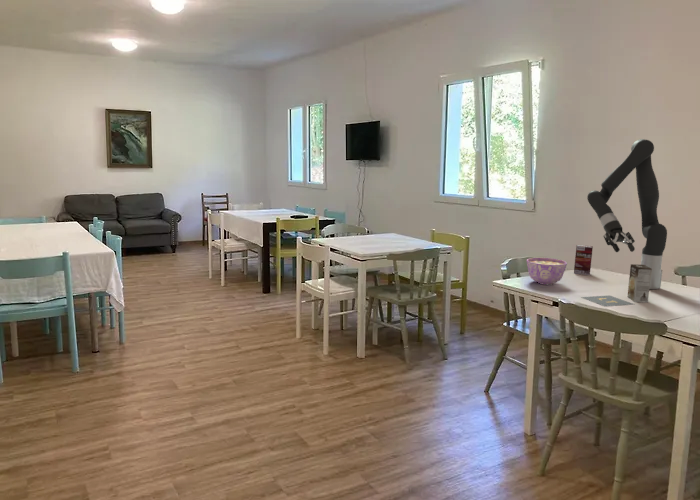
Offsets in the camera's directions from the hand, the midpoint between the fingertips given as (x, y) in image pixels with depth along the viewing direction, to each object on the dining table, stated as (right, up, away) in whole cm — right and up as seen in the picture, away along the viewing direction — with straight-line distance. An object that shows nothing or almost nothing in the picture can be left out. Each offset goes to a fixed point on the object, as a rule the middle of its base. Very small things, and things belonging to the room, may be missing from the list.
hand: (625, 251), depth 267 cm
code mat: (-13, -23, -10) cm, 28 cm away
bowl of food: (-30, -17, +25) cm, 42 cm away
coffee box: (+2, -23, -7) cm, 24 cm away
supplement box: (-1, -13, +49) cm, 51 cm away
